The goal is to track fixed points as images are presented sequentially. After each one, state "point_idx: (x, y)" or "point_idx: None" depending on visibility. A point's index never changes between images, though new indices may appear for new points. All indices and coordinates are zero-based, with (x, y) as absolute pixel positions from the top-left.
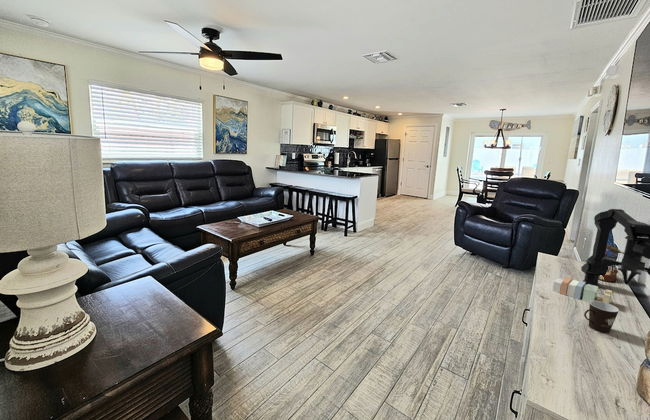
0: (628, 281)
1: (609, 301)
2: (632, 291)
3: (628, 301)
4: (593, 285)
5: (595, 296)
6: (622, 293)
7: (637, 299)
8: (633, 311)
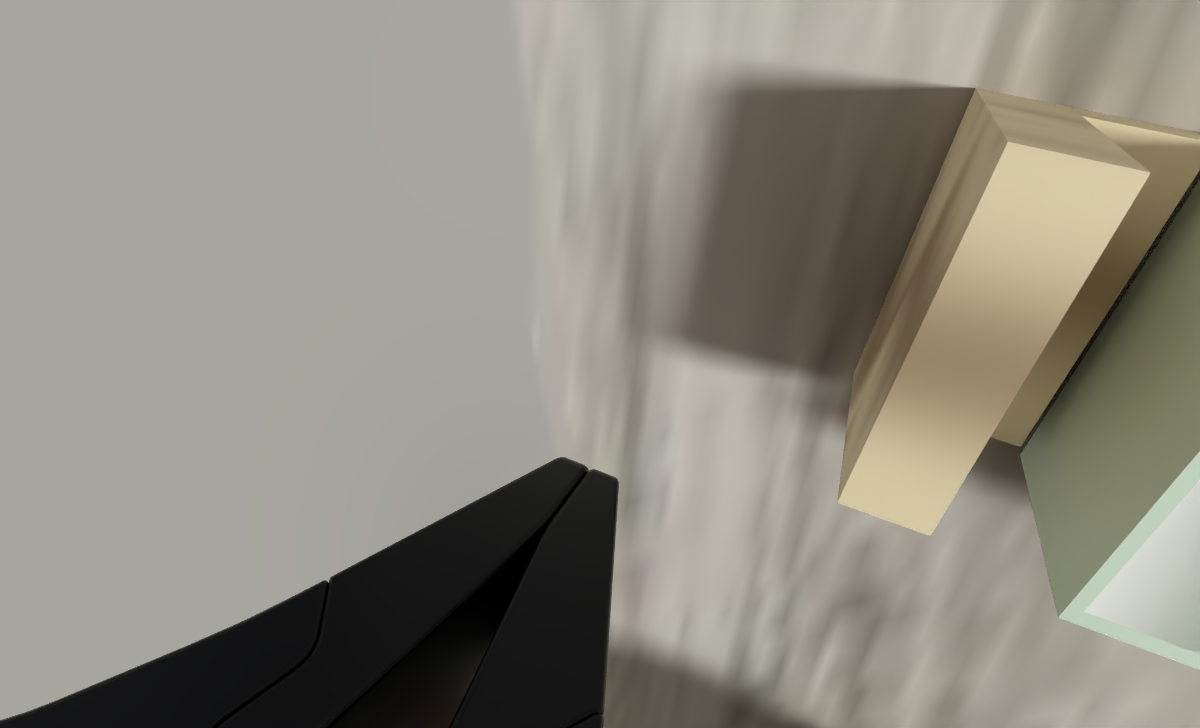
0: (489, 517)
1: (881, 325)
2: None
3: (623, 501)
4: (1154, 650)
5: (1126, 368)
6: (646, 669)
7: None
8: (610, 206)
